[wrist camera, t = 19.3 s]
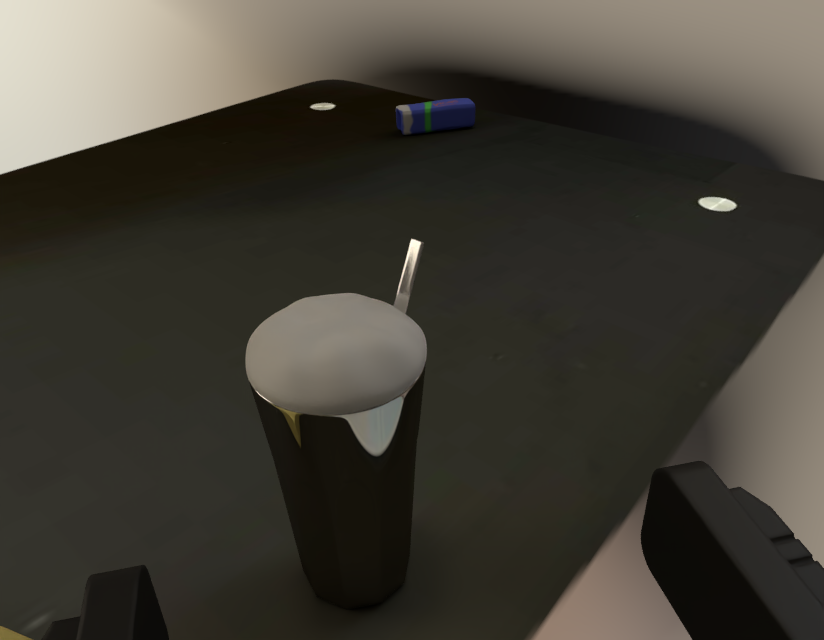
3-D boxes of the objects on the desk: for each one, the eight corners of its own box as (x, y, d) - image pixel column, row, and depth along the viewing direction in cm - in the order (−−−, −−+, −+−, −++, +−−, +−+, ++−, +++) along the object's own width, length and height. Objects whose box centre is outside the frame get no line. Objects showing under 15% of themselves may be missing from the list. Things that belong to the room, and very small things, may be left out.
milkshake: (478, 546, 24) (486, 266, 18) (352, 660, 20) (318, 361, 15) (378, 477, 26) (360, 216, 21) (253, 569, 23) (195, 288, 18)
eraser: (396, 129, 60) (395, 104, 59) (467, 121, 61) (467, 96, 60) (402, 136, 58) (401, 110, 57) (475, 128, 59) (475, 103, 58)
